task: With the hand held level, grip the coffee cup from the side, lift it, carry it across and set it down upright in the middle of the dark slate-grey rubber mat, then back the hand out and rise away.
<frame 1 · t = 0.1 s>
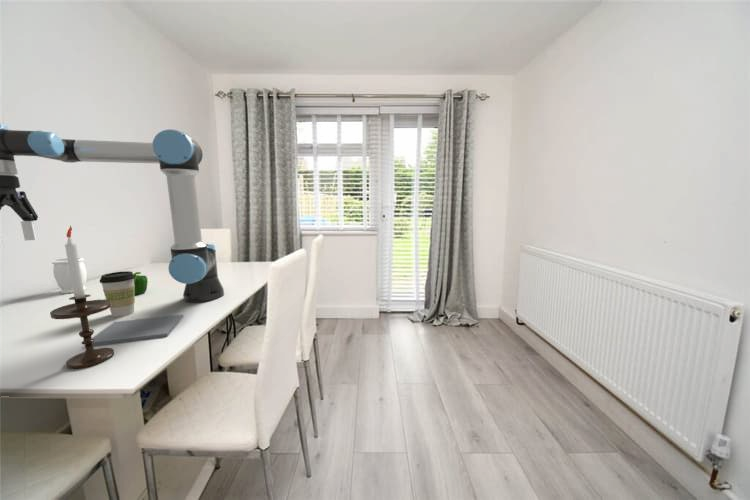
hand: (14, 242, 95), 28 cm above the table, tool pointing down, fingers open, 13 cm apart
jar: (74, 291, 137), on the table
coffee cup: (123, 314, 108), on the table
candlestick: (91, 360, 77), on the table
bell pepper: (136, 294, 132), on the table
slate mat: (139, 330, 94), on the table
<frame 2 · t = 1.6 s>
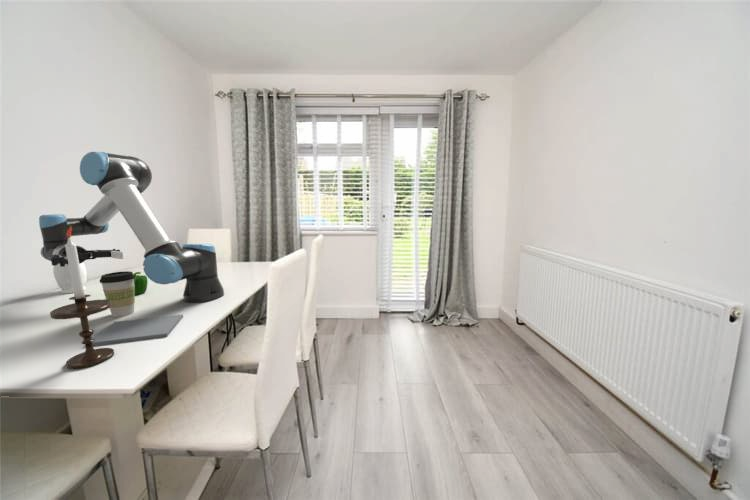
hand: (100, 258, 109), 20 cm above the table, tool horizontal, fingers open, 13 cm apart
nothing on the table moved.
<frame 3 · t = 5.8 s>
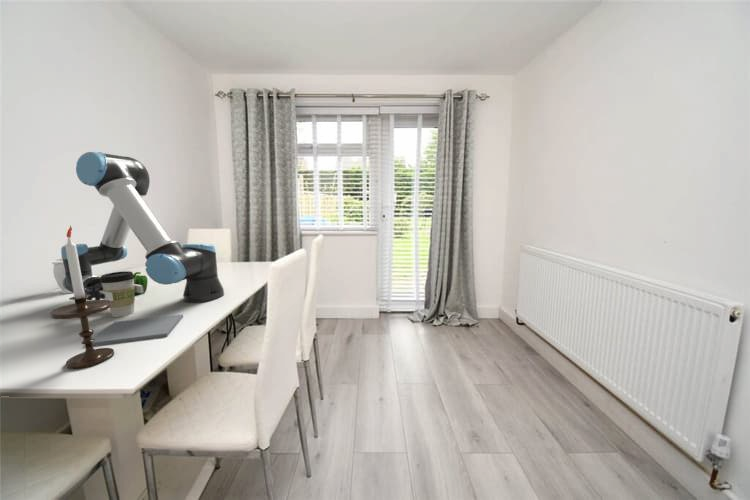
hand: (127, 292, 105), 9 cm above the table, tool horizontal, fingers closed on coffee cup, 9 cm apart
coffee cup: (123, 314, 108), on the table, touching gripper
everything else where it was.
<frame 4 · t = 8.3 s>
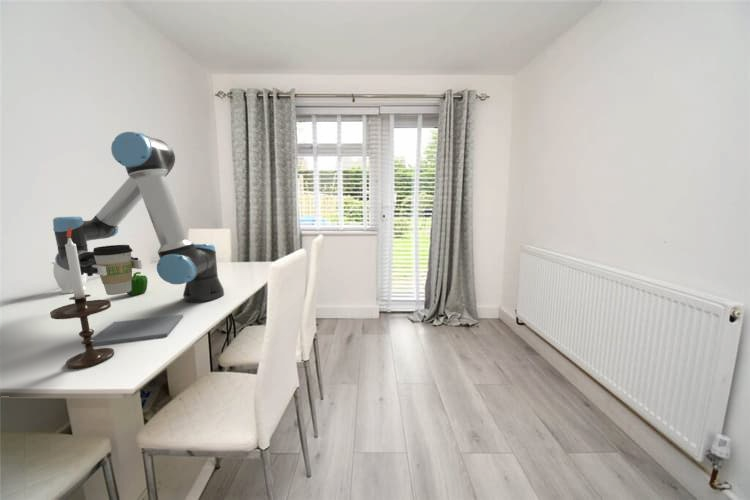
hand: (123, 267, 93), 20 cm above the table, tool horizontal, fingers closed on coffee cup, 9 cm apart
coffee cup: (119, 292, 96), point 11 cm above the table, touching gripper
everything else where it was.
when the fingers open (11 cm above the table, at t = 11.1 s): coffee cup drops 1 cm, resting on slate mat.
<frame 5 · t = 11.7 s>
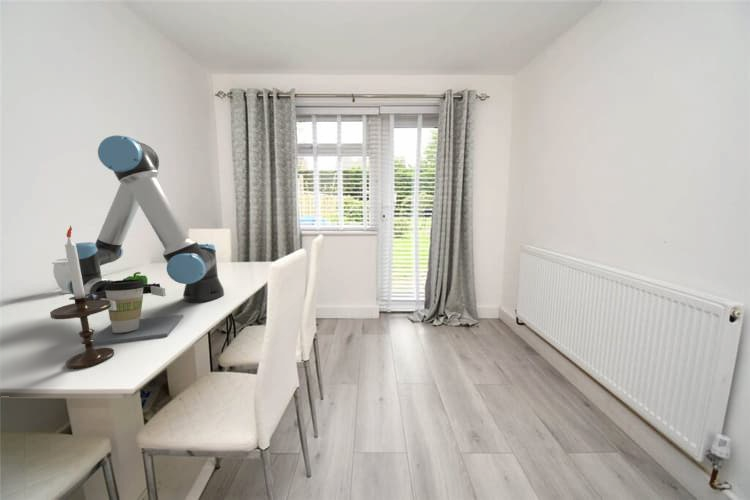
hand: (141, 298, 91), 11 cm above the table, tool horizontal, fingers open, 13 cm apart
coffee cup: (126, 330, 91), point 1 cm above the table, touching gripper, slate mat
everything else where it was.
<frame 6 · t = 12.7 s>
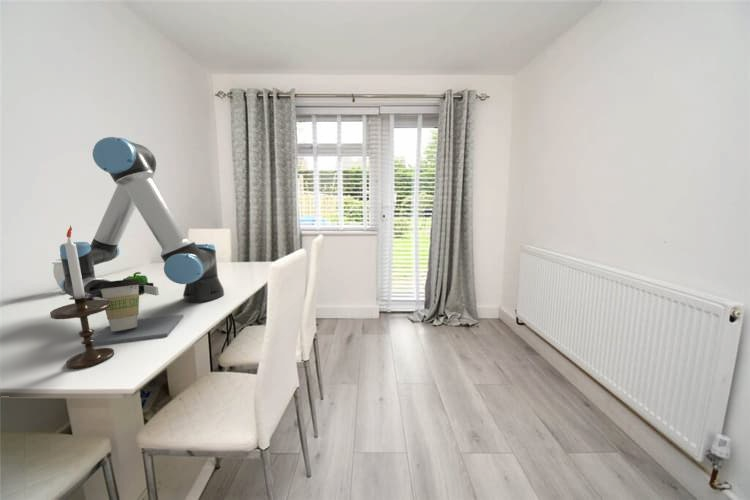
hand: (134, 297, 92), 11 cm above the table, tool horizontal, fingers open, 13 cm apart
coffee cup: (124, 329, 91), point 2 cm above the table, touching slate mat
everything else where it was.
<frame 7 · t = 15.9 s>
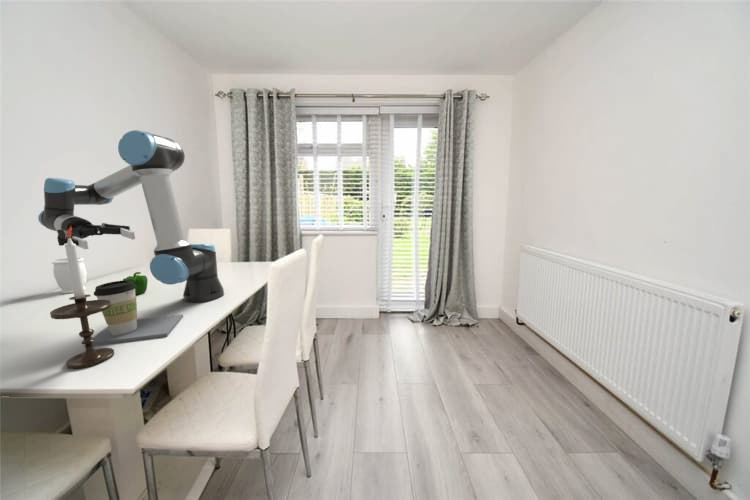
hand: (111, 240, 100), 28 cm above the table, tool horizontal, fingers open, 13 cm apart
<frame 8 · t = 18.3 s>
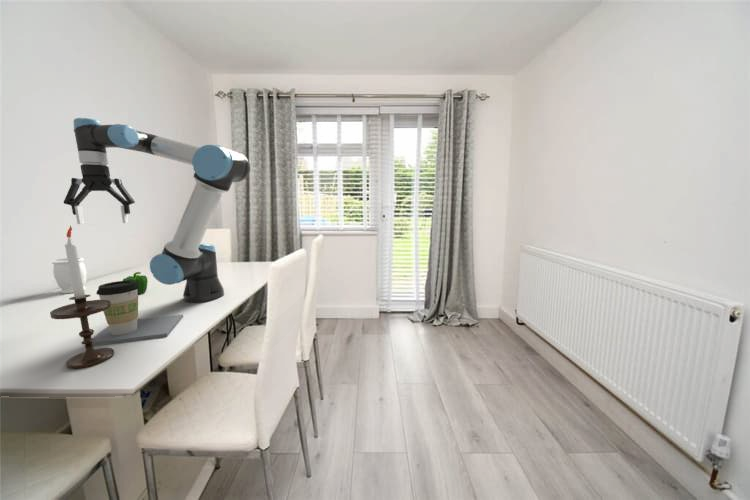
hand: (104, 223, 110), 33 cm above the table, tool pointing down, fingers open, 13 cm apart
at the end: coffee cup inside the target area on the slate mat (3.6 cm from its centre), point 0.9 cm above the slate mat's base; coffee cup tilted 2°; the gripper is holding nothing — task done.
